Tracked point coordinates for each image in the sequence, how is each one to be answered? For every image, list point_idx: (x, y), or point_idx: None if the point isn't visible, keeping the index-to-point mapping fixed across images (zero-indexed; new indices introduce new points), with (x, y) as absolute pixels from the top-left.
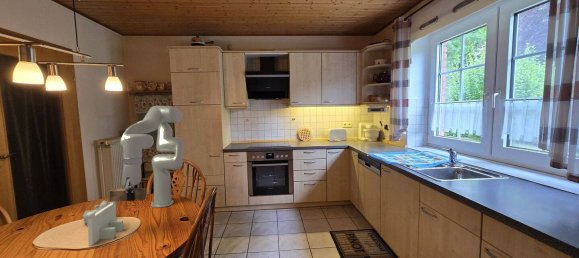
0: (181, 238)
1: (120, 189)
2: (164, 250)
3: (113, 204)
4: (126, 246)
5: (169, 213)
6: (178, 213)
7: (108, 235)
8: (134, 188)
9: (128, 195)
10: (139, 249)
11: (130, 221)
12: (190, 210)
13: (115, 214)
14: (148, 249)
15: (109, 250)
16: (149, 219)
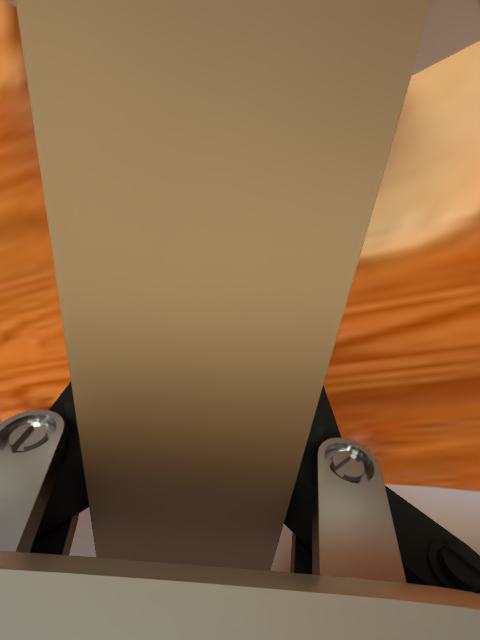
0: None
1: (236, 226)
2: (14, 414)
3: (454, 2)
4: (48, 262)
5: (445, 390)
6: (418, 429)
7: None
8: (256, 514)
9: (60, 400)
10: (19, 327)
11: (420, 182)
12: (433, 472)
13: (420, 62)
14: (20, 361)
15: (3, 185)
16: (397, 300)
